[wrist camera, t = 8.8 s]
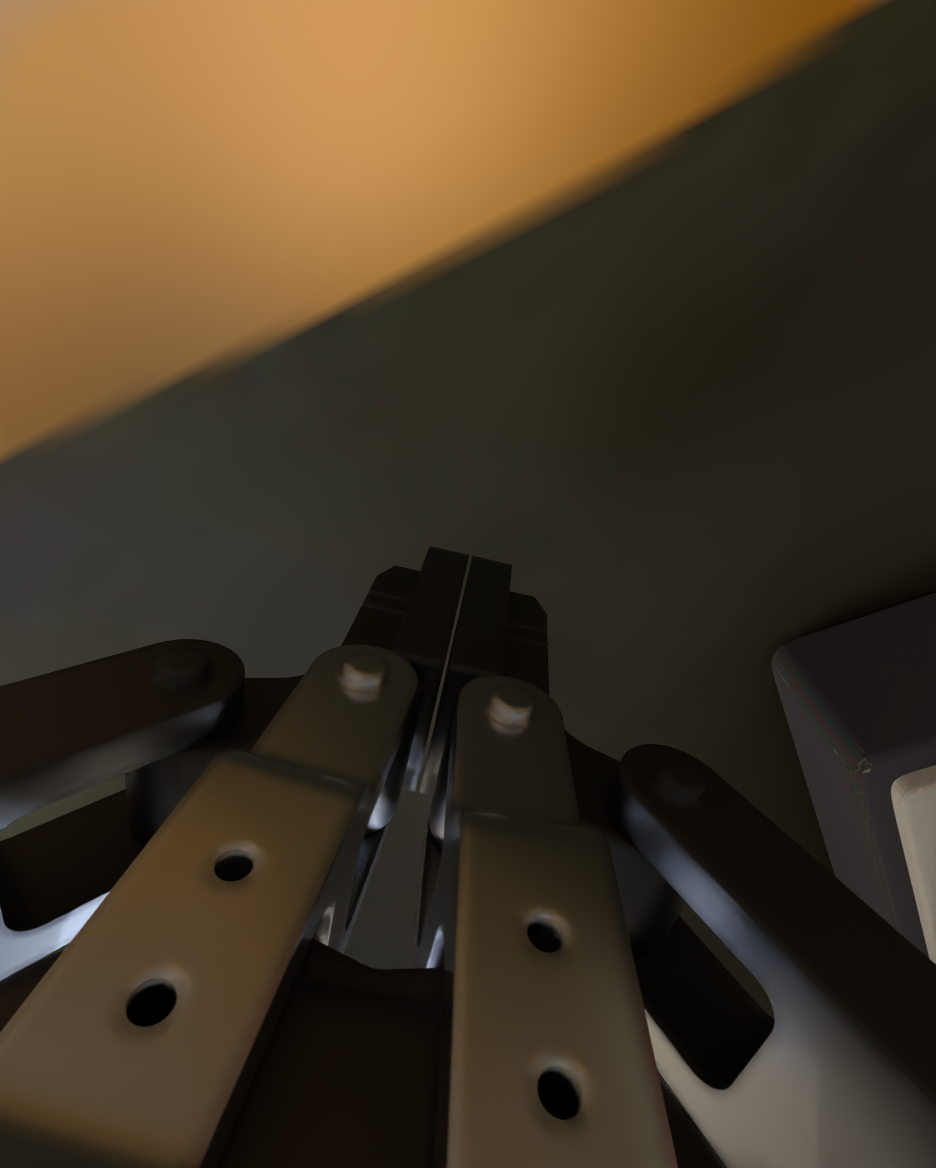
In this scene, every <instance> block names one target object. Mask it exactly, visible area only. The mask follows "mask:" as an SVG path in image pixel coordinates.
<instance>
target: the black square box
mask: <svg viewBox="0 0 936 1168" xmlns="http://www.w3.org/2000/svg"><path fill="white" fill-rule="evenodd" d="M771 667H772V671H773V675H774V679H775V682H776V685H777V689H778V692H779V695H780V698H781V702H782V705H783V708H784V711H785V715H786V718H787V721H788V724H789V728H790V731H791V734H792V737H793V741H794V744H795V747H796V750H797V754H798V757H799V760H800V763H801V767H802V770H803V773H804V776H805V780H806V783H807V786H808V789H809V793H810V796H811V799H812V803H813V806H814V809H815V812H816V816H817V819H818V822H819V825H820V829H821V832H822V835H823V838H824V842H825V845H826V848H827V851H828V855H829V858H830V861H831V864H832V868H833V871H834V874H835V877H836V878H837V879H838V880H840V881H841V882H842V883H843V884H844V885H845V886H846V887H848V888H849V889H850V890H851V891H852V892H853V893H854V894H856V895H857V896H858V897H859V898H860V899H861V900H862V901H864V902H865V903H866V904H867V905H868V906H869V907H871V908H872V909H873V910H874V911H875V912H876V913H877V914H879V915H880V916H881V917H882V918H883V919H884V920H885V921H887V922H888V923H889V924H890V925H891V926H892V927H893V928H895V929H896V930H897V931H898V932H899V933H900V934H902V935H903V936H904V937H905V938H906V939H907V940H908V941H910V942H911V943H912V944H913V945H914V946H915V947H916V948H918V949H919V950H920V951H921V952H922V953H923V954H924V955H926V956H927V957H928V958H929V959H930V960H931V961H933V962H934V963H935V964H936V593H933V594H930V595H927V596H924V597H921V598H918V599H915V600H912V601H909V602H906V603H903V604H900V605H897V606H894V607H891V608H888V609H885V610H882V611H879V612H876V613H873V614H870V615H867V616H864V617H861V618H858V619H855V620H852V621H849V622H846V623H843V624H840V625H837V626H834V627H831V628H828V629H825V630H822V631H819V632H816V633H813V634H810V635H807V636H804V637H801V638H798V639H796V640H793V641H790V642H788V643H786V644H783V645H782V646H781V647H779V648H778V649H777V650H776V651H775V653H774V654H773V657H772V660H771Z"/></svg>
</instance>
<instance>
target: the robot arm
mask: <svg viewBox="0 0 936 1168" xmlns="http://www.w3.org/2000/svg"><path fill="white" fill-rule="evenodd" d="M468 558H469V555H466V554H462V553H458V552H453V551H449V550H444V549H440V548H436V547H431V546H430V547H429V550H428V553H427V555H426V558H425V561H424V563H423V566H422V569H421V571H417V570H413V569H408V568H404V567H399V566H394V567H392V568H390V569H388V570H386V571H385V572H383V573H381V574H379V575H378V576H377V577H376V579H375V581H374V583H373V585H372V587H371V589H370V591H369V594H368V595H367V597H366V598H365V600H364V602H363V606H361V608H360V610H359V612H358V614H357V616H356V618H355V620H354V622H353V624H352V626H351V628H350V630H349V632H348V634H347V636H346V638H345V640H344V642H343V643H342V645H341V646H339V647H336V648H332V649H330V650H328V651H326V652H324V653H322V654H321V655H320V656H318V657H317V658H316V660H315V661H314V662H313V663H312V665H311V666H310V668H309V669H308V670H307V672H306V673H305V675H302V676H297V677H290V678H244V677H245V669H244V665H243V662H242V660H241V659H240V658H239V656H238V655H237V654H236V653H234V652H233V651H232V650H230V649H228V648H227V647H225V646H222V645H220V644H217V643H213V642H209V641H204V640H195V639H179V640H170V641H165V642H160V643H156V644H152V645H149V646H145V647H142V648H138V649H134V650H131V651H127V652H123V653H120V654H116V655H113V656H109V657H105V658H102V659H98V660H94V661H91V662H87V663H83V664H80V665H76V666H73V667H69V668H65V669H62V670H58V671H54V672H51V673H47V674H43V675H40V676H36V677H33V678H29V679H25V680H22V681H18V682H14V683H11V684H7V685H3V686H0V831H1V830H2V829H3V828H4V827H6V826H7V825H8V824H9V823H11V822H12V821H13V820H15V819H17V818H18V817H20V816H22V815H24V814H26V813H28V812H30V811H33V810H35V809H38V808H40V807H43V806H45V805H48V804H50V803H53V802H55V801H58V800H60V799H63V798H65V797H68V796H70V795H73V794H75V793H78V792H80V791H83V790H85V789H88V788H90V787H93V786H95V785H98V784H100V783H102V782H105V781H107V780H110V779H112V778H115V777H117V776H120V775H122V774H125V780H126V789H125V790H122V791H120V792H118V793H115V794H113V795H111V796H108V797H106V798H103V799H101V800H99V801H96V802H94V803H91V804H89V805H87V806H84V807H82V808H80V809H77V810H75V811H72V812H70V813H68V814H65V815H63V816H61V817H58V818H56V819H53V820H51V821H49V822H46V823H44V824H41V825H39V826H37V827H34V828H32V829H30V830H27V831H25V832H22V833H20V834H18V835H15V836H13V837H11V838H8V839H5V840H3V841H0V980H1V981H0V1168H726V1167H725V1166H724V1164H723V1163H722V1161H721V1160H720V1158H719V1157H718V1156H717V1154H716V1153H715V1151H714V1150H713V1148H714V1149H715V1150H716V1152H717V1153H718V1155H719V1156H720V1157H721V1159H722V1160H723V1162H724V1163H725V1164H726V1166H727V1167H728V1168H936V964H935V963H934V962H933V961H931V960H930V959H929V958H928V957H927V956H926V955H924V954H923V953H922V952H921V951H920V950H919V949H918V948H916V947H915V946H914V945H913V944H912V943H911V942H910V941H908V940H907V939H906V938H905V937H904V936H903V935H902V934H900V933H899V932H898V931H897V930H896V929H895V928H893V927H892V926H891V925H890V924H889V923H888V922H887V921H885V920H884V919H883V918H882V917H881V916H880V915H879V914H877V913H876V912H875V911H874V910H873V909H872V908H871V907H869V906H868V905H867V904H866V903H865V902H864V901H862V900H861V899H860V898H859V897H858V896H857V895H856V894H854V893H853V892H852V891H851V890H850V889H849V888H848V887H846V886H845V885H844V884H843V883H842V882H841V881H840V880H838V879H837V878H836V877H835V876H834V875H833V874H831V873H830V872H829V871H828V870H827V869H826V868H825V867H823V866H822V865H821V864H820V863H819V862H818V861H817V860H815V859H814V858H813V857H812V856H811V855H810V854H809V853H807V852H806V851H805V850H804V849H803V848H802V847H800V846H799V845H798V844H797V843H796V842H795V841H794V840H792V839H791V838H790V837H789V836H788V835H787V834H786V833H784V832H783V831H782V830H781V829H780V828H779V827H777V826H776V825H775V824H774V823H773V822H772V821H771V820H769V819H768V818H767V817H766V816H765V815H764V814H763V813H761V812H760V811H759V810H758V809H757V808H756V807H755V806H753V805H752V804H751V803H750V802H749V801H748V800H746V799H745V798H744V797H743V796H742V795H741V794H740V793H738V792H737V791H736V790H735V789H734V788H733V787H732V786H730V785H729V784H728V783H727V782H726V781H725V780H724V779H722V778H721V777H720V776H719V775H718V774H717V773H715V772H714V771H713V770H712V769H711V768H709V767H708V766H707V765H706V764H704V763H703V762H701V761H700V760H698V759H697V758H695V757H693V756H691V755H689V754H687V753H685V752H683V751H680V750H678V749H675V748H672V747H668V746H663V745H656V744H645V745H640V746H636V747H634V748H632V749H630V750H628V751H627V752H626V753H625V754H624V756H623V758H622V760H621V762H620V761H617V760H615V759H613V758H611V757H609V756H607V755H605V754H602V753H600V752H598V751H596V750H594V749H592V748H590V747H588V746H586V745H584V744H583V743H581V742H580V741H578V740H576V739H575V738H574V737H573V736H571V735H570V734H569V733H568V732H567V731H566V730H565V729H564V724H563V718H562V714H561V711H560V709H559V707H558V705H557V704H556V703H555V701H554V700H553V699H552V698H551V697H550V696H549V672H548V648H547V645H548V641H547V614H546V612H545V611H544V610H543V608H542V607H541V605H540V604H539V603H538V601H537V600H536V598H535V597H532V596H528V595H523V594H519V593H514V592H510V582H511V569H512V565H511V564H506V563H502V562H498V561H493V560H489V559H484V558H480V557H476V556H473V557H472V561H471V565H470V569H469V574H468V578H467V582H466V587H465V591H464V595H463V600H462V604H461V609H460V613H459V617H458V622H457V626H456V630H455V635H454V639H453V644H452V648H451V652H450V657H449V661H448V666H447V670H446V675H445V680H444V684H443V689H442V693H441V698H440V702H439V707H438V711H437V716H436V720H435V725H434V730H433V734H432V739H431V743H430V748H429V752H428V757H427V761H426V766H425V771H424V775H423V780H422V784H421V789H420V793H421V794H426V795H430V796H433V800H432V805H431V810H430V815H429V820H428V824H427V828H426V832H425V836H424V840H423V845H422V855H421V865H420V875H419V884H418V894H417V904H416V913H415V923H414V933H413V943H412V952H411V962H410V969H392V970H379V969H374V968H370V967H368V966H365V965H363V964H361V963H359V962H357V961H355V960H353V959H352V958H350V957H348V956H346V955H344V951H345V948H346V945H347V942H348V939H349V937H350V934H351V931H352V928H353V926H354V923H355V920H356V917H357V915H358V912H359V909H360V906H361V904H362V901H363V898H364V895H365V892H366V890H367V887H368V884H369V881H370V879H371V876H372V873H373V870H374V868H375V865H376V862H377V859H378V856H379V854H380V851H381V848H382V845H383V843H384V840H385V837H386V833H387V829H388V824H389V821H390V820H391V818H392V817H393V815H394V814H395V811H396V808H397V805H398V801H399V797H400V793H401V789H402V790H407V791H411V792H415V790H416V786H417V782H418V777H419V773H420V768H421V764H422V760H423V755H424V751H425V747H426V742H427V738H428V733H429V729H430V725H431V720H432V716H433V712H434V707H435V703H436V698H437V694H438V690H439V685H440V681H441V677H442V672H443V668H444V664H445V659H446V655H447V650H448V646H449V642H450V637H451V633H452V628H453V624H454V620H455V615H456V611H457V606H458V602H459V597H460V593H461V589H462V584H463V580H464V575H465V571H466V567H467V562H468ZM686 903H688V904H689V906H690V907H691V908H692V909H693V910H694V911H695V912H696V913H697V914H698V915H699V916H700V918H701V919H702V920H703V921H704V922H705V923H706V924H707V925H708V926H709V927H710V929H711V930H712V931H713V932H714V933H715V934H716V935H717V936H718V937H719V938H720V939H721V941H722V942H723V943H724V944H725V945H726V946H727V947H728V948H729V949H730V950H731V951H732V953H733V954H734V955H735V956H736V957H737V958H738V959H739V960H740V961H741V962H742V963H743V965H744V966H745V967H746V968H747V969H748V970H749V971H750V972H751V973H752V974H753V976H754V977H755V978H756V979H757V980H758V981H759V983H760V984H761V986H762V987H763V988H764V990H765V992H766V994H767V995H768V997H769V1000H770V1002H771V1005H772V1008H773V1011H774V1018H775V1020H774V1019H773V1018H771V1017H770V1016H769V1015H768V1014H766V1013H765V1012H764V1010H763V1009H762V1008H761V1007H760V1006H759V1005H758V1004H757V1003H756V1002H755V1001H754V999H753V998H752V997H751V996H750V995H749V994H748V993H747V992H746V990H745V989H744V988H743V987H742V986H741V985H740V984H739V983H738V981H737V980H736V979H735V978H734V977H733V976H732V975H731V974H730V972H729V971H728V970H727V969H726V968H725V967H724V966H723V965H722V963H721V962H720V961H719V960H718V959H717V958H716V957H715V956H714V954H713V953H712V952H711V951H710V950H709V949H708V948H707V947H706V945H705V944H704V943H703V942H702V941H701V940H700V939H699V938H698V936H697V935H696V934H695V933H694V932H693V931H692V930H691V929H690V927H689V926H688V925H687V924H686V923H685V922H684V921H683V920H682V918H681V917H680V916H679V915H680V913H681V911H682V910H683V908H684V906H685V904H686ZM69 942H70V943H69ZM68 943H69V945H68V946H67V947H66V949H65V950H64V951H61V952H58V953H55V954H53V955H51V956H48V957H46V958H44V959H42V960H40V961H38V962H35V961H37V960H39V959H40V958H42V957H44V956H46V955H48V954H49V953H51V952H53V951H55V950H57V949H59V948H60V947H62V946H64V945H66V944H68ZM33 962H35V963H33ZM31 963H33V964H31ZM29 964H31V965H29ZM28 965H29V966H28ZM26 966H27V967H26ZM24 967H25V968H24ZM20 969H21V970H20ZM18 970H19V971H18ZM9 975H10V976H9ZM658 1071H659V1073H660V1074H661V1075H662V1077H663V1078H664V1080H665V1081H666V1082H667V1084H668V1085H669V1086H670V1088H671V1089H672V1091H673V1092H674V1093H675V1095H676V1096H677V1098H678V1099H679V1100H680V1102H681V1103H682V1105H683V1106H684V1107H685V1109H686V1110H687V1112H688V1113H689V1114H690V1116H691V1117H692V1118H693V1120H694V1121H695V1123H696V1124H697V1125H698V1127H699V1128H700V1129H699V1128H698V1127H697V1125H696V1124H695V1123H694V1121H693V1120H692V1118H691V1117H690V1116H689V1114H688V1113H687V1112H686V1111H685V1110H684V1108H683V1107H682V1106H681V1105H680V1104H679V1102H678V1101H677V1100H676V1099H675V1098H674V1096H673V1095H672V1094H671V1093H670V1092H669V1090H668V1089H667V1088H666V1087H665V1086H664V1085H663V1084H662V1083H661V1082H660V1080H659V1075H658ZM700 1130H701V1131H702V1132H703V1134H704V1135H705V1136H704V1135H703V1134H702V1132H701V1131H700ZM705 1137H706V1138H707V1139H708V1141H709V1142H710V1143H711V1145H712V1146H713V1148H712V1147H711V1145H710V1144H709V1142H708V1141H707V1139H706V1138H705Z"/></svg>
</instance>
